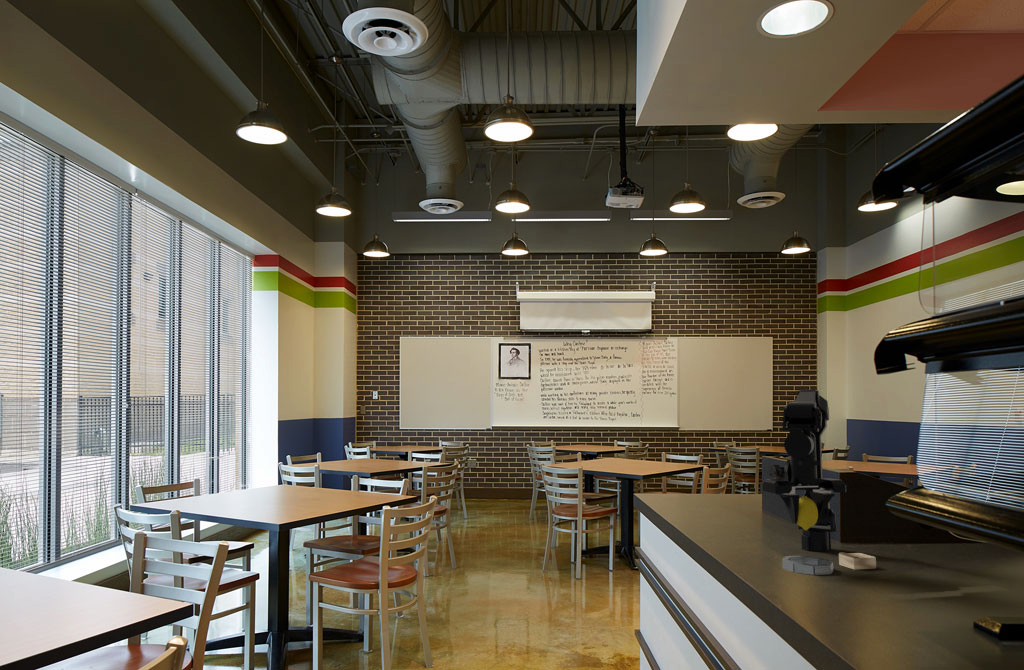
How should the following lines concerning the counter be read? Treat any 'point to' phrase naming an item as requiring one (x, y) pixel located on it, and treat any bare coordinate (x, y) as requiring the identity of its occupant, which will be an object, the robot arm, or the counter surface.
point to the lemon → (807, 513)
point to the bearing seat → (807, 565)
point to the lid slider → (857, 561)
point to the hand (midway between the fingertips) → (805, 523)
